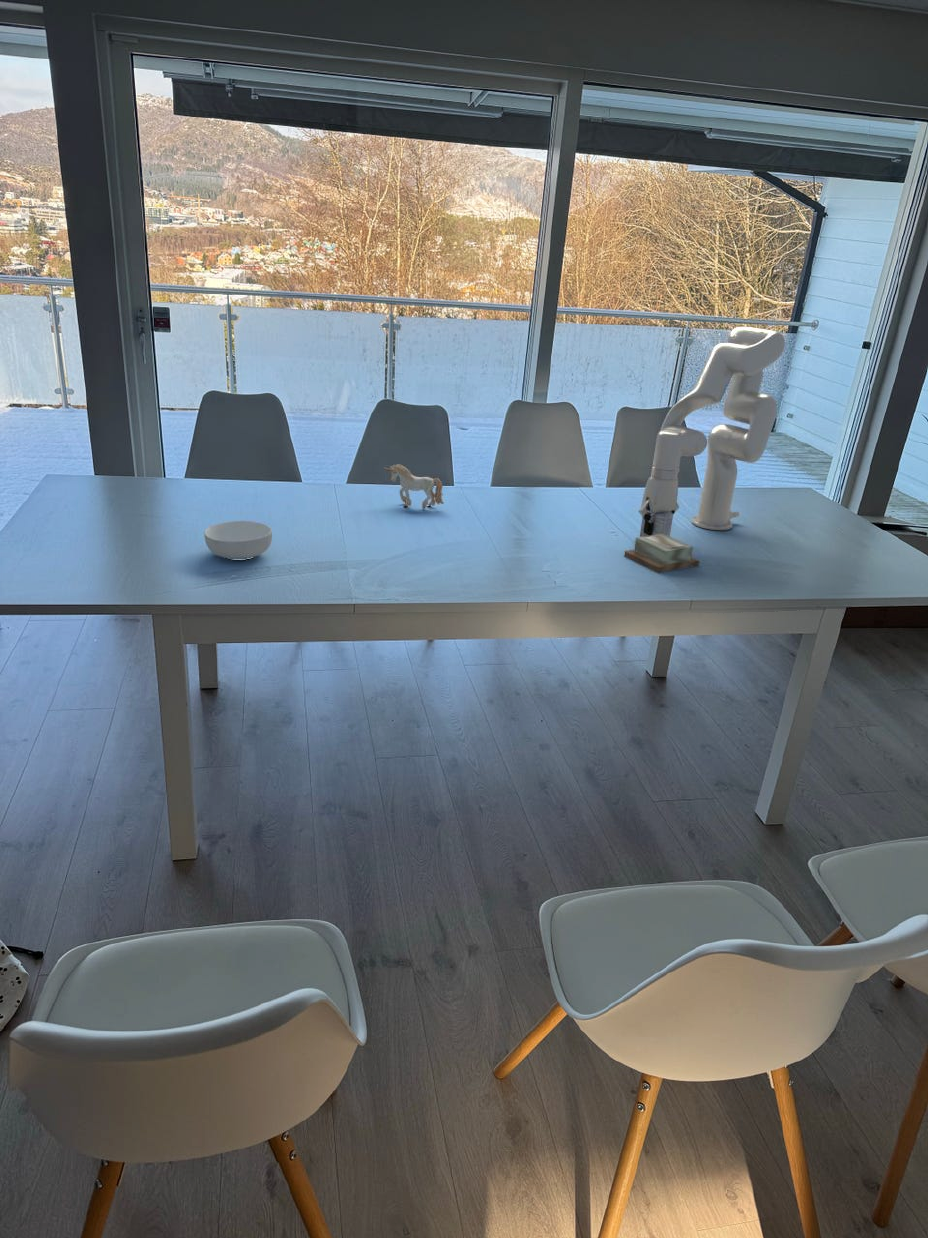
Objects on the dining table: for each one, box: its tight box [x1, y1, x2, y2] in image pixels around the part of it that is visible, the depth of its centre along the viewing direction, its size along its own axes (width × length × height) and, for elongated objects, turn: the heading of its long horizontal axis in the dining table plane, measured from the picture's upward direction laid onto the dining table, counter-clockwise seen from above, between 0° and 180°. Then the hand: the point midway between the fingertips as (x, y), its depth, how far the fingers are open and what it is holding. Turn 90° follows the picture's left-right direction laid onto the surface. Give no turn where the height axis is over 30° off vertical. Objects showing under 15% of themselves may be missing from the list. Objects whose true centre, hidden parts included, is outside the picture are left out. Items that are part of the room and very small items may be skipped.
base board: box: [624, 534, 700, 574], centre depth 246 cm, size 15×14×6 cm
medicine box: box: [639, 510, 674, 537], centre depth 263 cm, size 8×4×9 cm, turn 47°
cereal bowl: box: [203, 520, 273, 559], centre depth 229 cm, size 17×17×7 cm
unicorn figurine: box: [383, 463, 445, 509], centre depth 277 cm, size 7×20×13 cm, turn 100°
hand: (655, 532), depth 264 cm, fingers closed on medicine box, 5 cm apart
